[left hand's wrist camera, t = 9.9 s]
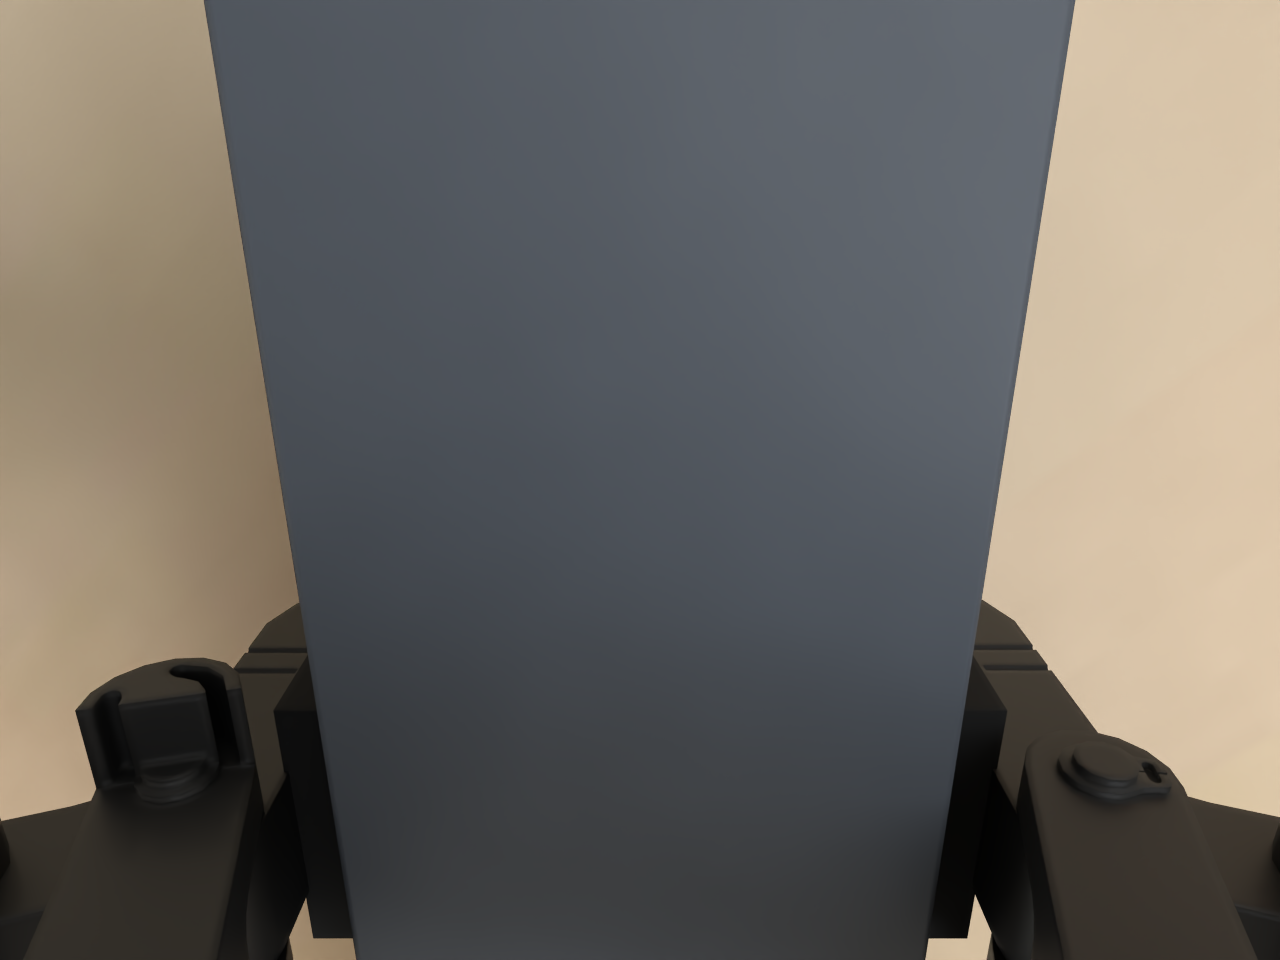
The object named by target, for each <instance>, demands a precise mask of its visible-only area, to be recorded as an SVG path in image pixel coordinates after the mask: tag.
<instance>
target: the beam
mask: <svg viewBox="0 0 1280 960" xmlns="http://www.w3.org/2000/svg"><path fill="white" fill-rule="evenodd" d="M204 4H205V10H206V17H207V23H208V29H209V36H210V42H211V48H212V55H213V61H214V67H215V73H216V80H217V86H218V92H219V99H220V105H221V111H222V117H223V124H224V130H225V136H226V143H227V149H228V155H229V161H230V168H231V174H232V180H233V187H234V193H235V199H236V205H237V212H238V218H239V224H240V231H241V237H242V243H243V250H244V256H245V262H246V268H247V275H248V281H249V287H250V294H251V300H252V306H253V312H254V319H255V325H256V331H257V338H258V344H259V350H260V356H261V363H262V369H263V375H264V382H265V388H266V394H267V401H268V407H269V413H270V419H271V426H272V432H273V438H274V445H275V451H276V457H277V463H278V470H279V476H280V482H281V489H282V495H283V501H284V507H285V514H286V520H287V526H288V533H289V539H290V545H291V551H292V558H293V564H294V570H295V577H296V583H297V589H298V596H299V602H300V608H301V614H302V621H303V627H304V633H305V640H306V646H307V652H308V658H309V665H310V671H311V677H312V684H313V690H314V696H315V702H316V709H317V715H318V721H319V728H320V734H321V740H322V747H323V753H324V759H325V765H326V772H327V778H328V784H329V791H330V797H331V803H332V809H333V816H334V822H335V828H336V835H337V841H338V847H339V853H340V860H341V866H342V872H343V879H344V885H345V891H346V897H347V904H348V910H349V916H350V923H351V929H352V935H353V942H354V948H355V954H356V960H925V958H926V951H927V945H928V938H929V932H930V926H931V919H932V913H933V907H934V900H935V894H936V887H937V881H938V875H939V868H940V862H941V855H942V849H943V843H944V836H945V830H946V823H947V817H948V811H949V804H950V798H951V791H952V785H953V779H954V772H955V766H956V759H957V753H958V747H959V740H960V734H961V727H962V721H963V715H964V708H965V702H966V695H967V689H968V683H969V676H970V670H971V664H972V657H973V651H974V644H975V638H976V632H977V625H978V619H979V612H980V606H981V600H982V593H983V587H984V580H985V574H986V568H987V561H988V555H989V548H990V542H991V536H992V529H993V523H994V516H995V510H996V504H997V497H998V491H999V484H1000V478H1001V472H1002V465H1003V459H1004V452H1005V446H1006V440H1007V433H1008V427H1009V421H1010V414H1011V408H1012V401H1013V395H1014V389H1015V382H1016V376H1017V369H1018V363H1019V357H1020V350H1021V344H1022V337H1023V331H1024V325H1025V318H1026V312H1027V305H1028V299H1029V293H1030V286H1031V280H1032V273H1033V267H1034V261H1035V254H1036V248H1037V241H1038V235H1039V229H1040V222H1041V216H1042V209H1043V203H1044V197H1045V190H1046V184H1047V178H1048V171H1049V165H1050V158H1051V152H1052V146H1053V139H1054V133H1055V126H1056V120H1057V114H1058V107H1059V101H1060V94H1061V88H1062V82H1063V75H1064V69H1065V62H1066V56H1067V50H1068V43H1069V37H1070V30H1071V24H1072V18H1073V11H1074V5H1075V0H204Z"/></svg>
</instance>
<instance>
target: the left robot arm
mask: <svg viewBox="0 0 1280 960" xmlns="http://www.w3.org/2000/svg"><path fill="white" fill-rule="evenodd" d="M1032 646H1033V645H1032V644H1031V642H1030V641H1029V640H1028V638H1027V637H1026V636H1025V634H1024V633H1023V632H1022V630H1021V629H1020V628H1019V626H1018V625H1017V624H1016V622H1015V621H1014V620H1012V619H1011V618H1009V617H1008V616H1006V615H1005V614H1003V613H1002V612H1000V611H999V610H997V609H996V608H994V607H993V606H991V605H989V604H988V603H986V602H985V601H983V600H981V606H980V612H979V619H978V625H977V632H976V638H975V644H974V651H973V657H972V664H971V670H970V676H969V683H968V689H967V695H966V702H965V708H964V715H963V721H962V727H961V734H960V740H959V747H958V753H957V759H956V766H955V772H954V779H953V785H952V791H951V798H950V804H949V811H948V817H947V823H946V830H945V836H944V843H943V849H942V855H941V862H940V868H939V875H938V881H937V887H936V894H935V900H934V907H933V913H932V919H931V926H930V932H929V938H967V936H968V931H969V925H970V919H971V914H972V908H973V902H974V897H975V895H976V897H977V900H978V902H979V904H980V907H981V909H982V911H983V914H984V916H985V918H986V921H987V923H988V925H989V928H990V930H991V932H992V934H991V939H990V945H989V950H988V955H987V960H1280V817H1276V816H1271V815H1266V814H1261V813H1257V812H1252V811H1247V810H1242V809H1238V808H1233V807H1228V806H1223V805H1218V804H1214V803H1209V802H1206V801H1202V800H1198V799H1195V798H1191V797H1188V796H1187V794H1186V792H1185V789H1184V787H1183V786H1182V784H1181V783H1180V782H1179V780H1178V779H1177V778H1176V776H1175V775H1174V773H1173V772H1172V771H1171V769H1170V768H1169V767H1167V766H1166V765H1165V764H1163V763H1162V762H1161V761H1159V760H1158V759H1157V758H1155V757H1154V756H1153V755H1151V754H1150V753H1149V752H1147V751H1145V750H1143V749H1141V748H1139V747H1137V746H1134V745H1132V744H1130V743H1128V742H1126V741H1123V740H1121V739H1119V738H1116V737H1112V736H1107V735H1103V734H1099V733H1098V732H1097V731H1096V730H1095V728H1094V727H1093V726H1092V724H1091V723H1090V722H1089V720H1088V719H1087V718H1086V716H1085V715H1084V714H1083V712H1082V711H1081V710H1080V708H1079V707H1078V706H1077V704H1076V703H1075V702H1074V700H1073V699H1072V697H1071V696H1070V695H1069V693H1068V692H1067V691H1066V689H1065V688H1064V687H1063V685H1062V684H1061V683H1060V681H1059V680H1058V679H1057V677H1056V676H1055V675H1054V673H1053V672H1052V671H1048V668H1047V666H1048V665H1047V664H1046V663H1045V661H1044V660H1043V659H1042V657H1041V656H1040V655H1039V653H1038V652H1037V650H1033V648H1032ZM75 712H76V715H77V719H78V723H79V726H80V730H81V734H82V737H83V741H84V745H85V748H86V752H87V756H88V759H89V763H90V767H91V770H92V774H93V778H94V781H95V785H96V791H95V793H94V796H93V798H92V800H91V801H89V802H85V803H82V804H78V805H75V806H71V807H66V808H61V809H57V810H52V811H47V812H42V813H38V814H33V815H28V816H24V817H19V818H14V819H9V820H5V821H1V819H0V960H293V955H292V950H291V945H290V939H289V936H290V934H291V931H292V929H293V927H294V924H295V922H296V920H297V917H298V915H299V913H300V910H301V908H302V906H303V903H304V901H305V899H307V905H308V910H309V916H310V922H311V927H312V933H313V938H353V935H352V929H351V923H350V916H349V910H348V904H347V897H346V891H345V885H344V879H343V872H342V866H341V860H340V853H339V847H338V841H337V835H336V828H335V822H334V816H333V809H332V803H331V797H330V791H329V784H328V778H327V772H326V765H325V759H324V753H323V747H322V740H321V734H320V728H319V721H318V715H317V709H316V702H315V696H314V690H313V684H312V677H311V671H310V665H309V658H308V652H307V646H306V640H305V633H304V627H303V621H302V614H301V608H300V603H297V604H296V605H294V606H293V607H291V608H290V609H288V610H287V611H285V612H284V613H282V614H281V615H279V616H278V617H276V618H275V619H273V620H272V621H270V622H269V623H267V624H266V625H265V627H264V628H263V629H262V631H261V632H260V633H259V635H258V636H257V638H256V639H255V640H254V642H253V643H252V644H251V646H250V647H249V652H248V653H245V654H244V655H243V656H242V658H241V659H240V661H239V662H238V663H237V665H236V666H235V667H234V669H233V668H232V667H230V666H229V665H228V664H227V663H224V662H220V661H215V660H211V659H206V658H183V659H172V660H167V661H163V662H158V663H153V664H149V665H144V666H142V667H139V668H137V669H134V670H132V671H129V672H127V673H124V674H122V675H119V676H117V677H115V678H113V679H111V680H110V681H108V682H107V683H105V684H104V685H102V686H101V687H99V688H97V689H96V690H94V691H93V692H91V693H90V694H89V695H88V696H87V698H86V699H85V700H84V701H83V702H82V703H81V705H80V706H79V707H78V708H77V709H76V710H75Z"/></svg>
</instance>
